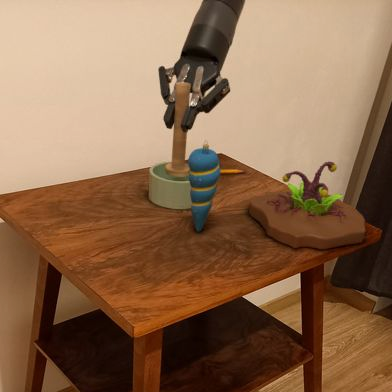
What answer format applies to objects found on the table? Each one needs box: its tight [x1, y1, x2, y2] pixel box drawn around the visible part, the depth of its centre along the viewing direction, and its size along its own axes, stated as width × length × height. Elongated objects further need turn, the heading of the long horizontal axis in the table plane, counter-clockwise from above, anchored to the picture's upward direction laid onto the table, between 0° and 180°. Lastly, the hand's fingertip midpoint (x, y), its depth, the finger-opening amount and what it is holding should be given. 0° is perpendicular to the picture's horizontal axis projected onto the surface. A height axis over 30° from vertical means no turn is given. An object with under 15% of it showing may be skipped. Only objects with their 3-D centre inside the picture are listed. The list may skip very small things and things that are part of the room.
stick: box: [165, 82, 191, 177], centre depth 94 cm, size 5×5×15 cm
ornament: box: [187, 139, 221, 233], centre depth 87 cm, size 5×5×15 cm
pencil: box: [220, 169, 245, 175], centre depth 113 cm, size 1×19×1 cm
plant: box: [248, 161, 366, 251], centre depth 94 cm, size 20×20×11 cm
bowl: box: [148, 161, 192, 210], centre depth 100 cm, size 10×10×5 cm
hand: (175, 127), depth 92 cm, fingers closed on stick, 2 cm apart
